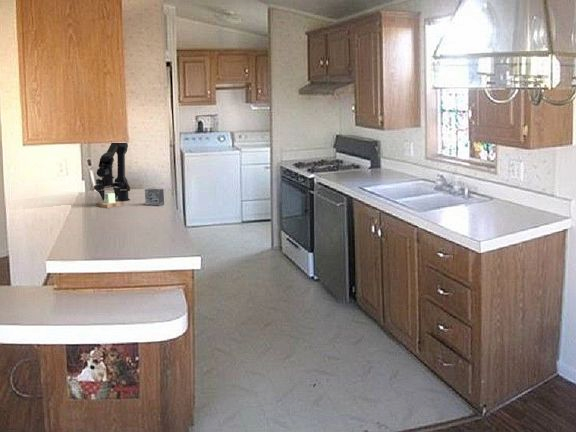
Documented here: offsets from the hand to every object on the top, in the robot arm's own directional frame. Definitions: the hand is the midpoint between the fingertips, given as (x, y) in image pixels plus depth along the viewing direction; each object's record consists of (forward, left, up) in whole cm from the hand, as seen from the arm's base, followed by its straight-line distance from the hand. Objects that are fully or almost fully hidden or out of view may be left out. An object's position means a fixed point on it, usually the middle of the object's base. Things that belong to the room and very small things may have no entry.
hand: (109, 199), depth 435 cm
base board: (0, 0, -4) cm, 4 cm away
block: (0, 0, -2) cm, 2 cm away
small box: (-19, +22, -4) cm, 29 cm away
